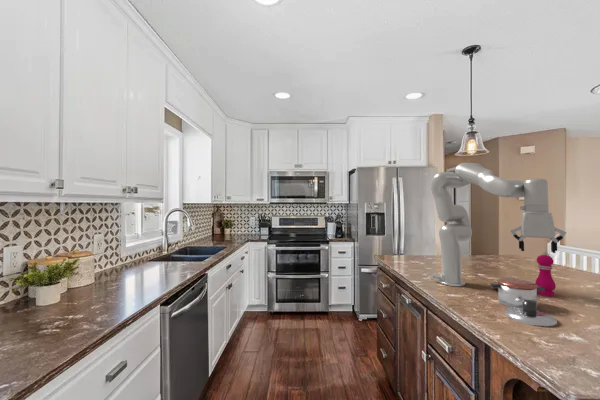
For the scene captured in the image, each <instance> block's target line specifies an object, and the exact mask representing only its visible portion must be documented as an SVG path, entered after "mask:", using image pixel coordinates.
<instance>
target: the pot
mask: <svg viewBox="0 0 600 400" xmlns="http://www.w3.org/2000/svg"><path fill="white" fill-rule="evenodd" d="M490 286H491V287H492V288H495V287H497V288H498V291H497V293H498V300H497V301H498V302H499V303H500V304H501V305H504V306H507V307H509V306H510V307H509V308H513V307H517V308H523V300H532V301H535V302H536V303H537V304H538V294H537V290H538V291H545V288H544V287H542V286H538V285H537V284H535V282H532V281H529V280H525V279H517V278H514V279H513V278H505V277H503V278H498V279H497V280H496V283H495V282H490Z"/></svg>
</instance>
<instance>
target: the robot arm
mask: <svg viewBox="0 0 600 400" xmlns="http://www.w3.org/2000/svg"><path fill="white" fill-rule="evenodd" d="M470 184H474V185H476V186H479V187H480V188H481V189H483V190H484V191H486V192H487V193H490V194H493V195H495V196H498V197H501V198H523V202H524V203H523V204H524V205H522V206H520V207H519V210H520V211H523V212H522V214H521V220H520V226H517V227H514V228H512V229H510V230H509V232H510V233H511V235H512V236H513V237H514V238H515V239H516V240H517V241H518V249H519V250H520V251H521V252H525V241H524V239H526V238H537V239H539V238H543V239H550V240H551V242H550V252H551V253H553V254H556V252H557V251H558V243H559V242H560V241H561V240H563V239H564V237H565V235H566V234H567V232H566V231H564V230H563V229H560V228H557V227H555V223H554V217H553V213H552V212H549V210H550V209H549V208H550V207H549V185H548V184H549V183H548V180H547V179H545V178H530V179H529V178H528V179H526V180H517V179H506V178H503V177H499V176H496V175H494V172H493V170H491V169H489V168H485V167H484V166H483V165H481V164H480V163H476V162H475V163H474V162H461V163H458V165H457V166H455V169H454V172H451V171H443V172H439V173H438V172H437V173H436V174H435V175H434V176H433V177H432V178H431V182H430V191H431V193H432V196H433V199H434V204H435V209H436V212H437V218H438V219H439V220H440V221H441V222H443V223H449V224H445V225H442V226H441V227H440V228H439V231H438V237H439V241H440V256H441V261H440V262H441V270H440V271H441V272H440V273H439V274H433V273H432V274H431V278H432V279H436V280H438V283H440V284H441V285H445V286H449V287H463V286H465V285H466V282H465V281H464V280H462V278H463V275H462V272H463V271H462V268H463V267H462V248H461V246H460V244H459V243H460V242H467V241H469V240H470V239H471V238H472V236H473V235H472V234H473V230H472V226H471V222H470V219H469V215H468V212H467V210H466V208H465V207H464V206H462V205H460V204H454V202H453V200H452V195H451V193H450V192H449V191H448V190H447V189H459V188H462V187H465V186H468V185H470ZM519 231H520V234H521V235H520V236H519V235H517V232H519ZM556 232H557V233H559V235H558V236H556V237H555V235H556Z"/></svg>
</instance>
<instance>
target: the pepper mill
mask: <svg viewBox="0 0 600 400" xmlns="http://www.w3.org/2000/svg"><path fill="white" fill-rule="evenodd" d="M536 263H537V265H538V269H539V271H538V272H539V274H538V275H537V277H536V279H535V282H534V283H535V284H537V285H538V286H542V287H544V288H545V291H538V290H537V295H540V296H543V297H551V298H552V297H555V291H554V290H555V289H556V283H555V281H554V278H553V276H552V270H553V266H552V265H553V264H554V258H553V257H551V256H549V255H548V252H547V251H543V252H542V254H540V255H538V256H537V257H536Z"/></svg>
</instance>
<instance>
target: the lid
mask: <svg viewBox="0 0 600 400" xmlns="http://www.w3.org/2000/svg"><path fill="white" fill-rule="evenodd" d="M504 314H505V316H506V317H507V316H508V318H509V319H511V320H513V321H515V320H516V322H518V321H519V322H518V323H521V322H522V323H521V324H524V323H525V325H529V324H530V326H534V325H536V326H535V327H541V326H544V327H546V328H550V327H549V326H552V327H555V325H556V324H557V325H558V321H557V318H556V317H555V316H553V315H551V314H549V313H547V312H543V311H540V310H538V302H537V303H536V302H535V301H532V300H523V308H517V307H507V308H506V309H505V310H504ZM557 325H556V326H557Z"/></svg>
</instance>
